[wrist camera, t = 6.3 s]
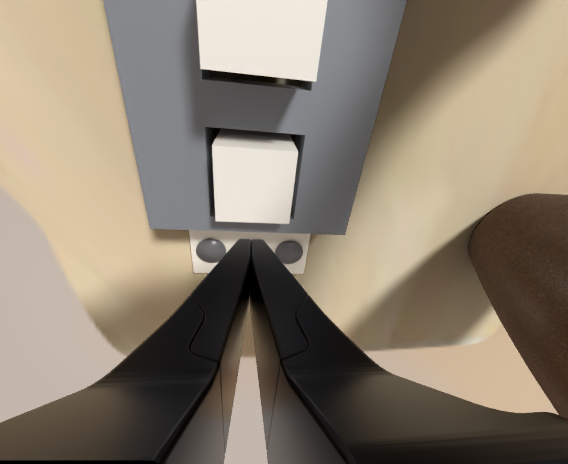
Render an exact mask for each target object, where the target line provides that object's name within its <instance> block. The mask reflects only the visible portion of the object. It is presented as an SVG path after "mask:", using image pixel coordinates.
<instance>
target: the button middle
mask: <svg viewBox="0 0 568 464" xmlns="http://www.w3.org/2000/svg"><path fill="white" fill-rule="evenodd" d="M327 2H328V0H196V5H197V21H198V38H199V54H200V69H206V70H215V71H224V72H233V73H242V74H251V75H260V76H269V77H278V78H287V79H296V80H305V81H314V82H316V79H317V72H318V65H319V58H320V51H321V44H322V37H323V30H324V23H325V16H326V9H327Z"/></svg>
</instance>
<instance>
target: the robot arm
mask: <svg viewBox="0 0 568 464" xmlns="http://www.w3.org/2000/svg"><path fill="white" fill-rule="evenodd" d="M249 295H250V310H251V318H252V327H253V336H254V345H255V353H256V362H257V371H258V380H259V388H260V397H261V406H262V415H263V423H264V432H265V440H266V449H267V459H268V464H568V419H567V418H565V417H562V416H559V415H557V414H554V413H549V412H533V413H512V412H506V411H500V410H496V409H492V408H488V407H485V406H482V405H478V404H475V403H472V402H470V401H466V400H464V399H461V398H458V397H455V396H453V395H450V394H447V393H444V392H441V391H438V390H436V389H433V388H430V387H427V386H424V385H421V384H419V383H416V382H413V381H410V380H407V379H405V378H402V377H399V376H396V375H394V374H392V373H390V372H388V371H386V370H385V369H383V368H381V367H380V366H379V365H377V364H376V363H375V362H374V361H372V360H371V359H370V358H369V357H368V356H367V355H366V354H365V353H364V352H363V351H362V350H361V349H360V348H359V347H358V346H357V345H356V344H355V343H354V342H353V341H352V340H351V339H350V338H349V337H347V336H346V335H345V334H344V333H343V332H342V331H341V330H340V329H339V328H338V327H337V326H336V325H335V324H334V323H333V322H332V321H331V320H330V319H329V318H328V317H327V316H326V315H325V314H324V312H323V311H322V310H321V309H320V308H319V307H318V306H317V304H316V303H315V302H314V301H313V300H312V298H311V297H310V296H308V294H307V292H306V291H305V290H304V289H303V287H302V286H301V285H300V284H299V283H298V281H297V280H296V279H295V278H294V276H293V275H292V274H291V273H290V272H289V270H288V269H287V268H286V267H285V265H284V264H283V263H282V262H281V260H280V259H279V258H278V257H277V256H276V254H275V253H274V252H273V251H272V249H271V248H270V247H269V246H268V245H267V243H266V242H265V241H264V240H263V239H252V240H250V239H238V240H237V242H236V243H235V244H234V245H233V246H232V247H231V248H230V250H229V251H228V252H227V253H226V254H225V255H224V257H223V258H222V259H221V260H220V261H219V262H218V263H217V265H216V266H215V267H214V268H213V269H212V270H211V271H210V273H209V274H208V275H207V276H206V277H205V278H204V280H203V281H202V282H201V283H200V284H199V285H198V286H197V288H196V289H195V290H194V291H193V292H192V293H191V294H190V296H189V297H188V298H187V299H186V300H185V301H184V302H183V303H182V305H181V306H180V307H179V308H178V309H177V310H176V311H175V312H174V313H173V314H172V315H171V316H170V317H169V318H168V319H167V320H166V321H165V322H164V323H163V324H162V325H161V326H160V327H159V328H158V329H157V330H156V331H155V332H154V333H153V334H151V335H150V336H149V337H148V338H147V339H146V340H145V341H144V342H143V343H142V344H140V345H139V346H138V347H137V348H136V349H135V350H134V351H133V352H132V353H131V354H130V355H128V356H127V357H126V358H125V359H124V360H123V361H122V362H121V363H120V364H119V365H118V366H117V367H115V368H114V369H113V370H112V371H111V372H110V373H108V374H107V375H105V376H104V377H103V378H102V379H100V380H99V381H97V382H95V383H94V384H92V385H91V386H89V387H87V388H85V389H83V390H81V391H78V392H76V393H73V394H71V395H68V396H66V397H63V398H61V399H58V400H56V401H53V402H51V403H48V404H46V405H43V406H41V407H39V408H36V409H33V410H31V411H28V412H26V413H24V414H21V415H18V416H16V417H14V418H11V419H8V420H6V421H4V422H1V423H0V464H223V463H224V457H225V451H226V445H227V439H228V432H229V426H230V419H231V413H232V407H233V400H234V395H235V388H236V382H237V376H238V369H239V363H240V357H241V351H242V344H243V338H244V332H245V325H246V319H247V313H248V306H249Z"/></svg>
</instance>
